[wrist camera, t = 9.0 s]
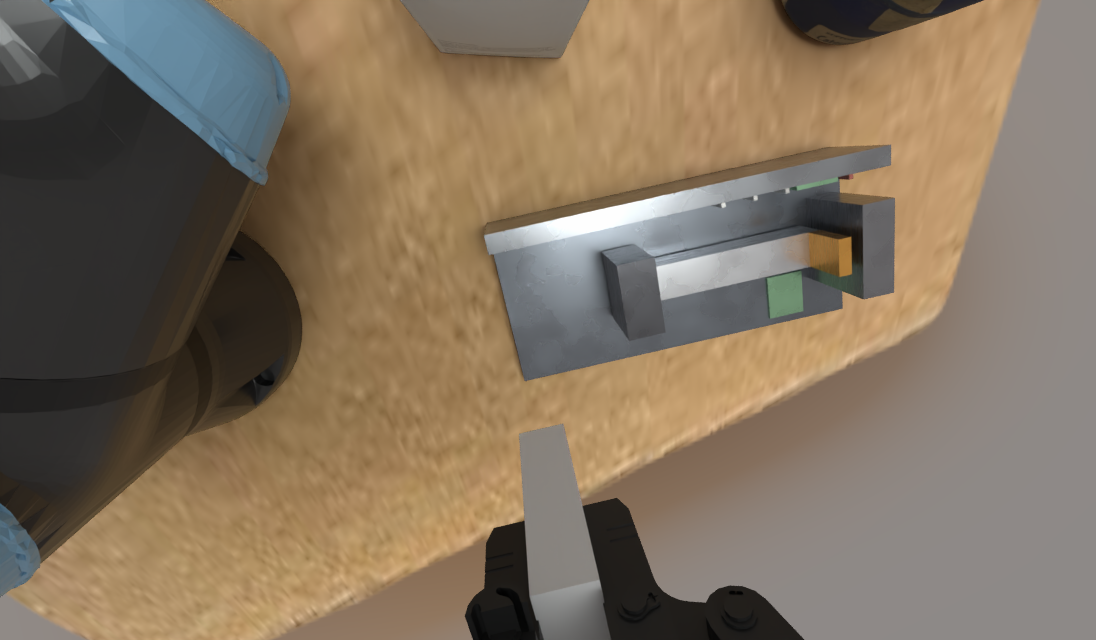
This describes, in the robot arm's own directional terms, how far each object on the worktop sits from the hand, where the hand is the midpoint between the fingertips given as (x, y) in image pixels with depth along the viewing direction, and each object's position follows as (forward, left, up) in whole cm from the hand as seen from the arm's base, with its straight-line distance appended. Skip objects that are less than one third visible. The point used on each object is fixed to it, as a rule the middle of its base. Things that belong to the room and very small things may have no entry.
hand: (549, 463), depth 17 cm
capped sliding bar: (+13, 0, -20) cm, 24 cm away
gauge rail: (+11, 0, -22) cm, 24 cm away
